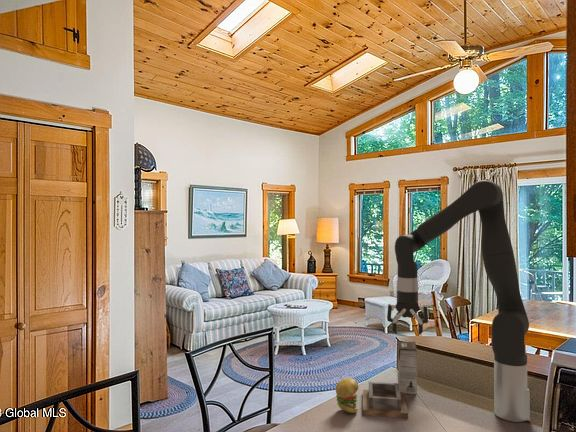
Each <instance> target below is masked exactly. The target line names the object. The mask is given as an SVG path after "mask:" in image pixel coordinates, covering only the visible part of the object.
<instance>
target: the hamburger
mask: <svg viewBox="0 0 576 432" xmlns="http://www.w3.org/2000/svg"><path fill="white" fill-rule="evenodd" d="M339 377H340V379H341V380H340V381H338V382H337V384H336V386H335V394H336V401H337V405H338V407H339V409H341V410H343V411H344V412H346V413H349V414H356V413H357V412H358V410H359V408H358V406H357V403H358V399H357V398H358V394H357V391H358V390H359V384H358V382H357V380H355V378H351V377H346V378H345V377H344V378H343V377H342V376H341V375H340V376H339Z"/></svg>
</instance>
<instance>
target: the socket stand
mask: <svg viewBox="0 0 576 432" xmlns="http://www.w3.org/2000/svg"><path fill="white" fill-rule="evenodd" d="M362 415H364V416H375V417H377V416H378V417H391V418H399V419H400V418H402V419H409V410H408V406H407V402H406V398H405V393H404V392H400V391H399V384H398V382H397V383H394V382H393V383H392V382H382V381H381V382H378V381H368V389H362Z"/></svg>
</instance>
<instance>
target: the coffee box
mask: <svg viewBox="0 0 576 432" xmlns="http://www.w3.org/2000/svg"><path fill="white" fill-rule="evenodd" d="M397 373H398V375H397V378H398V380H397V381H398V382H397V383H398V386H399V391H400V392H404V394H412V395H418V348H417V344H416V342H415V341H402V340H401V341H397Z"/></svg>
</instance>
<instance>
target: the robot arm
mask: <svg viewBox="0 0 576 432" xmlns="http://www.w3.org/2000/svg"><path fill="white" fill-rule="evenodd" d="M476 212H478V214H479V218H480V222H481V241H480V244H481V245H480V247H481V257H482V261H483V266H484V270H485V273H486V275H487V278H488V280H489V282H490V284H491V286H492V288H493V290H494V292H495V296H496V297H495V298H496V302H497V311H498V313H497V314H496V315H495V316H494V318H493V320H492V323H491V345H492V347H491V348H492V352H493V356H494V357H493V358H494V359H493V360H494V361H493V362H494V363H493V372H494V374H493V376H494V378H493V382H494V383H493V386H494V388H493V392H494V393H493V395H494V397H493V398H494V401H493V402H494V403H493V404H494V405H493V408H494V412H493V413H494V414H495V416H497V417H498V418H500V419H501V420H503V421H504V420H505V421H507V422H508V421H509V422H512V423H523V422H527V421H529V422H530V417H531V414H530V412H531V408H530V407H531V406H530V404H531V401H530V400H531V399H530V398H531V396H530V395H531V393H530V389H529V387H528V355H527V353H526V348H525V346H526V345H525V344H526V343H525V335H526V334H527V333H528V332H529V329H530V321H529V317H528V314H527V312H526V308H525V305H524V302H523V300H522V295H521V292H520V284H519V276H518V270H517V264H516V258H515V254H514V249H513V244H512V239H511V237H510V232H509V229H508V227H507V226H508V225H507V222H506V216H505V205H504V194H503V189H502V188H501V186H500V185H499V184H498V183H496V182H494V181H491V180H487V179H486V180H484V179H482V180H478V181H475V182H474V183H473V184H471V186H470V187H469V188H468V189H466V190H465V191H464V192H463V194H461V195H460V196H459V197H458V198H457V199H456V200H454V201H453V202H451V204H449V205H447V206H446V207H445V208H443V209H442V210H440V211H439V212H436V213H435V214H434V215H432V216H431V217H429V218H427V219H426V220H424V221H423V222H422V223H420V224H419V225H418V226H417V228H416V229H414V230H413V231H411V232H409V233H408V234H402V235H399V236H398V237H397V238H396V240H395V242H394V253H395V259H396V262H397V263H396V264H397V281H396V304H390V303H388V304H387V314H386V316H387V317H386V319H387V322H390V323H391V324H392V326H391V327H392V329H391V330H392V332H393V333H394V334H396V335H397V331H398V330H397V327H398V326H397V321H398V320H401V319H400V318H410V319H412V318H414V319H415V320H416V321H417V322H418V323H417V333H418V335H420V336H421V335H422V334H423V331H424V324H428V323H429V316H428V315H429V314H428V307H427V305H426V304H424V305H419V277H418V276H419V275H418V268H419V267H418V263H417V262H416V261H415V255H414V254H415V253H416V252H418V251H420V250H421V249H422V248H424V247H425V246H427V245H428V244H429V243H430V242H432V241H433V240H434V241H435V240H436V239H437V238H439V237H441V236H442V235H443V234H445V233H446V232H448V231H449V230H451V229H452V228H453V227H455V225H456V224H457V223H459V222H460V221H461V220H463V219H465V218H466V217H468V216H469V215H472V214H473V213H476ZM394 309H395V310H396V311H397V313H396V314H395V315H394V317H392V312H393V311H394ZM419 311H421V312H422V314H423V319H421V317H420V316H419V314H418V312H419Z"/></svg>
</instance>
